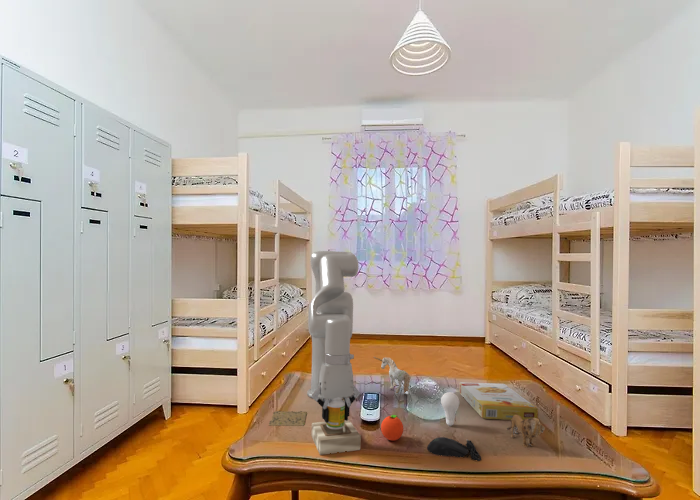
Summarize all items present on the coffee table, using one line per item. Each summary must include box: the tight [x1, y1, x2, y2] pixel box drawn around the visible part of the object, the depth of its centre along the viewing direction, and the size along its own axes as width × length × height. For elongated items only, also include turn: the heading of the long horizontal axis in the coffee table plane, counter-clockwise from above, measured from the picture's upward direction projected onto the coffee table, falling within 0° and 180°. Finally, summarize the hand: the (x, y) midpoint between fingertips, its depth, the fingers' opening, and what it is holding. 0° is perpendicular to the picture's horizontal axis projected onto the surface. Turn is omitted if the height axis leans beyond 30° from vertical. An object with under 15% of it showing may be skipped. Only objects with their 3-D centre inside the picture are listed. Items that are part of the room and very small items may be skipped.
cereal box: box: [458, 381, 539, 421], centre depth 144 cm, size 20×6×28 cm
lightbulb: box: [440, 391, 461, 427], centre depth 125 cm, size 6×6×11 cm
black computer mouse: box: [426, 436, 482, 462], centre depth 107 cm, size 10×15×4 cm
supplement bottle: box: [327, 397, 345, 430], centre depth 111 cm, size 5×5×10 cm
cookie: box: [268, 410, 308, 427], centre depth 127 cm, size 12×12×1 cm
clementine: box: [380, 414, 404, 441], centre depth 114 cm, size 8×7×7 cm
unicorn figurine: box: [373, 356, 411, 394], centre depth 159 cm, size 7×20×13 cm, turn 45°
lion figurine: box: [506, 415, 546, 448], centre depth 115 cm, size 15×5×9 cm, turn 15°
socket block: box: [310, 418, 362, 456], centre depth 110 cm, size 12×12×4 cm
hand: (335, 419), depth 111 cm, fingers closed on supplement bottle, 5 cm apart
